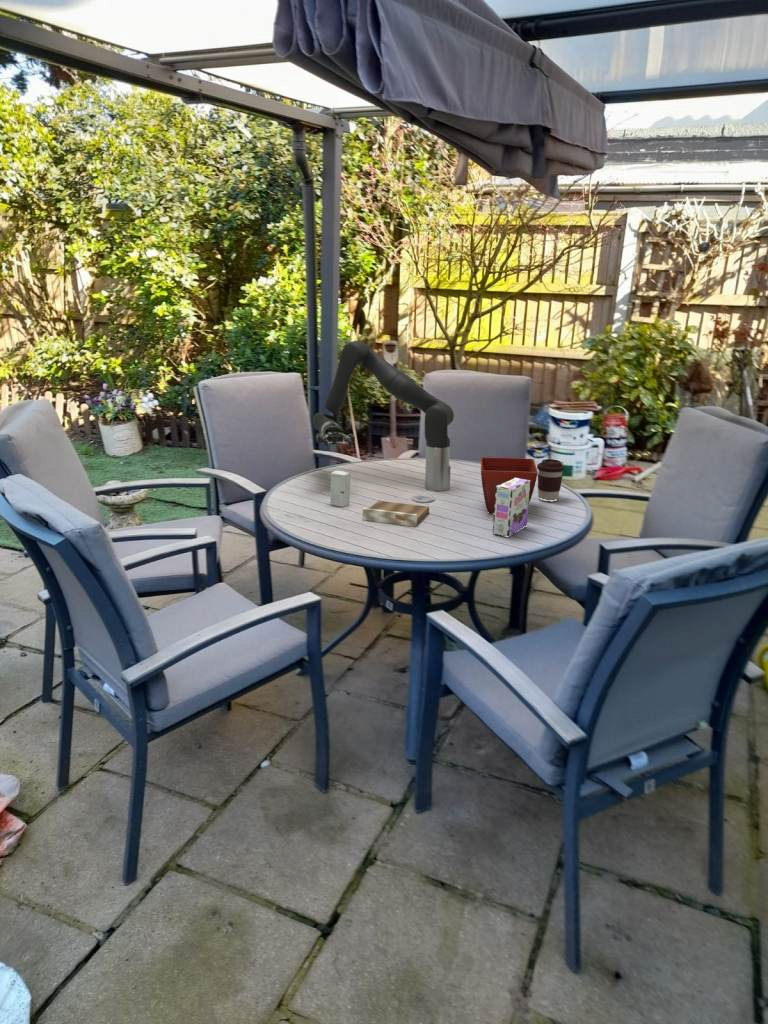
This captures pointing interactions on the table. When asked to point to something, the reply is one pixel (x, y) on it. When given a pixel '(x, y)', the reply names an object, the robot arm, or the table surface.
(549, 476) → the coffee cup
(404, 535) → the table surface
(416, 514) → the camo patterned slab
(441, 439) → the robot arm
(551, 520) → the table surface
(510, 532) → the candy box
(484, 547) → the table surface
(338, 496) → the skincare box
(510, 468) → the plant pot
